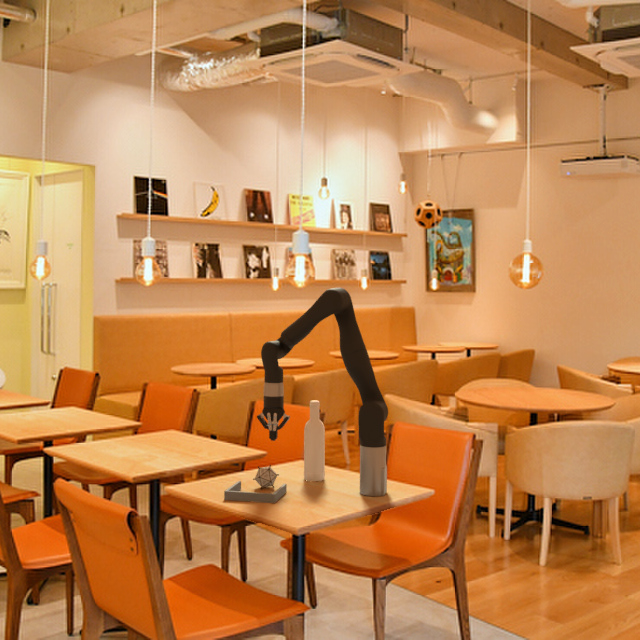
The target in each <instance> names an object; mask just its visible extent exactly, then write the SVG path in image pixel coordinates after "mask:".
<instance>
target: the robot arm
mask: <svg viewBox="0 0 640 640" xmlns="http://www.w3.org/2000/svg"><path fill="white" fill-rule="evenodd" d="M332 315H334V318H335V321H336V324H337V325H338V331H339V352H340V354H341V355H340V356H341V359H342V362H343V364H344V367H345V370H346V371H347V373H348V375H349V377H350V378H351V380H352V381H353V383H354V385H355V386H356V388H357V390H358V392H359V396H360V399H361V404H362V405H361V406H360V408H359V411H358V416H357V418H358V422H357V423H358V425H357V426H358V437H359V493H360V495H362V496H367V497H378V496H381V497H382V496H383V497H385V495H386V494H387V491H388V484H387V483H388V466H387V438H386V436H385V421H386V420H387V419H388V415H389V408H388V405H387V403H386V401H385V399H384V396H383V394H382V392H381V390H380V387H379V386H378V382H377V379H376V376H375V372H374V369H373V366H372V362H371V360H370V359H371V358H370V356H369V353H368V350H367V346H366V344H365V342H364V339H363V336H362V332H361V331H360V327H359V324H358V322H357V318H356V313H355V308H354V305H353V300H352V296H351V295H350V293H349V291H348V290H347V289H345V288H343V287H331V288H327V289H326V290H325V291H323V293H322V294H321V295H319V297H318V298H317V299H316V300H315V302H314V303H313V304H312V305H311V307H309V308H308V310H306V311H305V312H304V313H303V314H301V316H300V317H299V318H297V319H296V320H295V321H293V322H292V323H291V324H290V325H288V326H287V327H286V328H285V329H284V330H282V331H281V333H280V337H278V338H277V339H276V340H271V341H267V342H265V343H263V345H262V347H261V350H260V355H261V361H262V365H263V369H264V381H263V382H264V384H263V390H262V391H263V408H262V411H261V413H260V414H258V415H257V416H256V419H258V421H259V422H260V424H261V425H262V427H263V428H264V429H265V430H268V431H269V432H268V433H269V434H268V437H269V440H270V441H271V442H273V441H274V442H275V441H276V440H277V439H278V437H279V436H278V431H279V430H281V429H283V428H284V427H285V425H287V422H288V421H289V420H290V418H291V416H290V415H287V414H286V411H285V409H284V407H285V406H284V405H285V401H284V399H285V388H284V369H283V367H282V366H279V360H281V359H283V358H284V357H286V356H287V355H288V354H289V353H290V352H291V351H292V350H293V348H294V347H295V346H296V345H298V344H299V343H300V342H302V341H303V340H304V339H306V337H307V336H308V335H309V334H311V332H312V331H313V330H314V329H315V327H316V326H317V325H318V324H319V323H321V322H322V321H323V320H325V319H327V318H329V317H330V316H332ZM266 420H267V421H266ZM280 420H282V421H281V422H280ZM279 423H280V424H279Z"/></svg>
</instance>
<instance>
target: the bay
mask: <svg viewBox="0 0 640 640" xmlns="http://www.w3.org/2000/svg"><path fill="white" fill-rule="evenodd" d="M287 487H288V486H287V483H283V484H282V485H281V486H279V488H278V489H276V490H275V491H274V492H273V493H271V492H269V493H268V492H256V491H254V492H253V491H240V490H242V480H238V481H236V482H235V483H233V484H232V485H230V486H229V487H228V488H227V489H226V490H224V493H223V494H224V499H223V501H234V502H235V501H236V502H249V501H253V503H264V504H265V503H267V504H275V503H276V504H277V502H278V501H279V500H280V499H281V498H282V497H283V496H284V495H285V494H286V493H287Z"/></svg>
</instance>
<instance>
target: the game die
mask: <svg viewBox="0 0 640 640" xmlns="http://www.w3.org/2000/svg"><path fill="white" fill-rule="evenodd" d="M278 476H280V474H278V473H276V472H275V471H274V470H273V468H272V465H271V464H270V465H268V466H264V467H260V466H257V472H256V474H255V477H254V478H252V480H253V481H256V483H257V484H258V485H259V486H260V490H263V488H268V487H272V488H273V489H275V486H274V484H275V482H276V480H277V477H278Z"/></svg>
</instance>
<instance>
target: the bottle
mask: <svg viewBox="0 0 640 640" xmlns="http://www.w3.org/2000/svg"><path fill="white" fill-rule="evenodd" d="M320 407H321V404H320V401H319V400H316V399H315V400H314V399H313V400H310V401H309V420H307V422H305V425H304V429H303V431H304V433H303V446H304V447H303V449H304V450H303V480H304V479H305V480H307V481H306V482H309V481H320V482H323V481H325V476H326V471H325V468H326V467H325V464H326V463H325V461H326V460H325V459H326V458H325V457H326V456H325V455H326V453H325V451H326V449H325V447H326V446H325V445H326V443H325V441H326V440H325V439H326V435H325V434H326V431H325V430H326V428H325V425H324V423H323V421H322V420H321V419H320ZM305 480H304V481H305ZM322 480H323V481H322Z"/></svg>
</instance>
